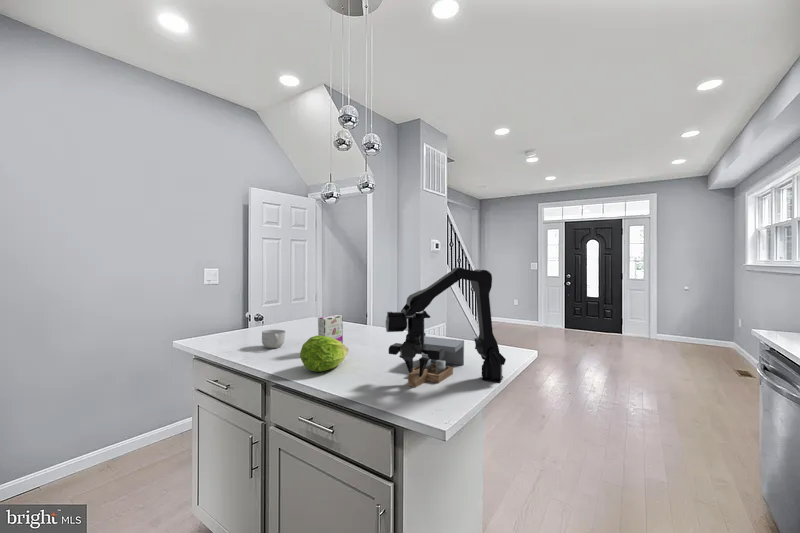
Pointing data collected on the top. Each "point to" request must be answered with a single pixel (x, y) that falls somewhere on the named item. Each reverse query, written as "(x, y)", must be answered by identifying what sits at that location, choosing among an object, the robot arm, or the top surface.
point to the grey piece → (447, 349)
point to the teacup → (273, 338)
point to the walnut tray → (430, 373)
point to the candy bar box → (331, 327)
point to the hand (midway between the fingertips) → (415, 375)
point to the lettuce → (322, 353)
